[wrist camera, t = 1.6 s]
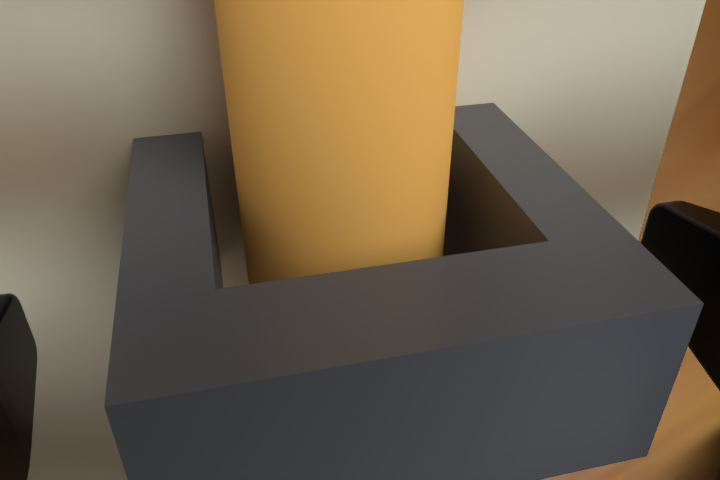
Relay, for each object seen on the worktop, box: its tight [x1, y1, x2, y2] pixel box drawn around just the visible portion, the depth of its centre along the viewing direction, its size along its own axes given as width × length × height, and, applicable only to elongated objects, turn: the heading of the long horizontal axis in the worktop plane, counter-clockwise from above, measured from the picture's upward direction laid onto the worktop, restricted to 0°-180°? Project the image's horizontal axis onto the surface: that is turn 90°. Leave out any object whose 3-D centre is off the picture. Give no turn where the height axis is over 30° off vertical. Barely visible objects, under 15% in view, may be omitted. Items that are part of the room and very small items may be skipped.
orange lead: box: [214, 0, 464, 284], centre depth 10 cm, size 15×3×3 cm, turn 0°
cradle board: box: [0, 0, 706, 480], centre depth 11 cm, size 17×13×2 cm
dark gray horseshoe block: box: [104, 103, 704, 480], centre depth 9 cm, size 6×2×5 cm, turn 90°
